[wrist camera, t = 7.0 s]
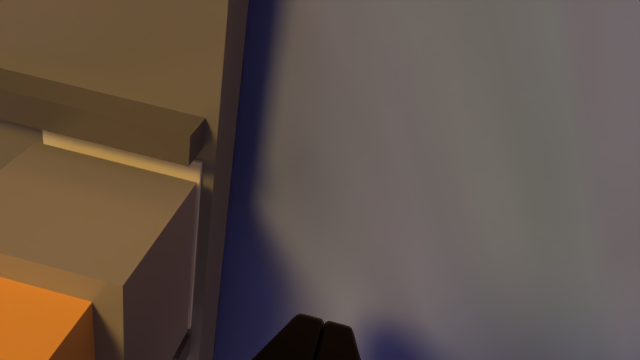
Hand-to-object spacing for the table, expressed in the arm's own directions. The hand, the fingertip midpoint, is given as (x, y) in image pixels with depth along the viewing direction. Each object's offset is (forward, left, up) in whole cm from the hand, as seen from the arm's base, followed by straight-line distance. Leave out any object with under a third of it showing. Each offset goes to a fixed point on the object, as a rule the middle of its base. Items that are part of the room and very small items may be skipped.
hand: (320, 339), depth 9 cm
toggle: (0, +4, -1) cm, 4 cm away
